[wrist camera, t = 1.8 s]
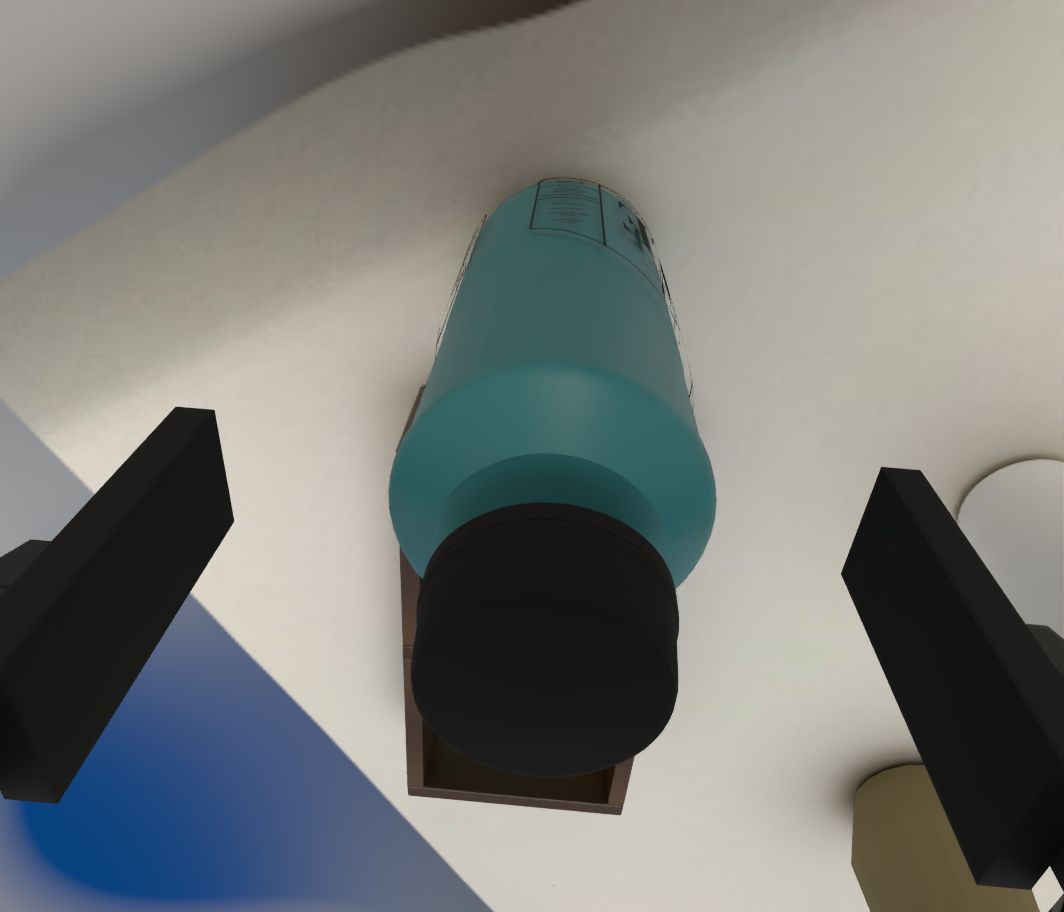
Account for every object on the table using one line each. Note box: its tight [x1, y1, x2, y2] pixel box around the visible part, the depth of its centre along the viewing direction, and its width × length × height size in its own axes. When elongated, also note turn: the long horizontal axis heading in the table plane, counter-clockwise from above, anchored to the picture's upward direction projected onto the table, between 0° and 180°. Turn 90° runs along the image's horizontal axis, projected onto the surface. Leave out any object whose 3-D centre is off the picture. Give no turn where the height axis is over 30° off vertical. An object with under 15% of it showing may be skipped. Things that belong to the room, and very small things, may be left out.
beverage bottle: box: [389, 178, 716, 777], centre depth 19 cm, size 6×7×20 cm
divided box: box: [396, 387, 635, 815], centre depth 34 cm, size 20×11×5 cm, turn 176°
